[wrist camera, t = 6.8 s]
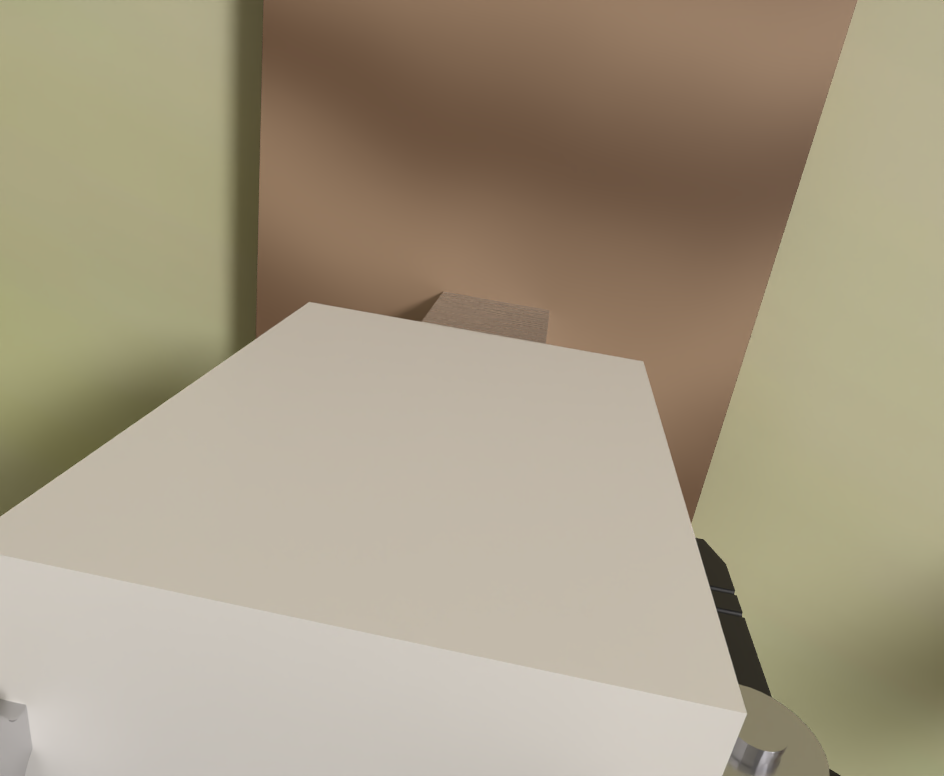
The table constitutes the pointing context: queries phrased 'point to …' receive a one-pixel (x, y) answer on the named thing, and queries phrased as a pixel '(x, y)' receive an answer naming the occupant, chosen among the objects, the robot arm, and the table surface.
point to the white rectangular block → (372, 572)
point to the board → (547, 171)
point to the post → (489, 317)
